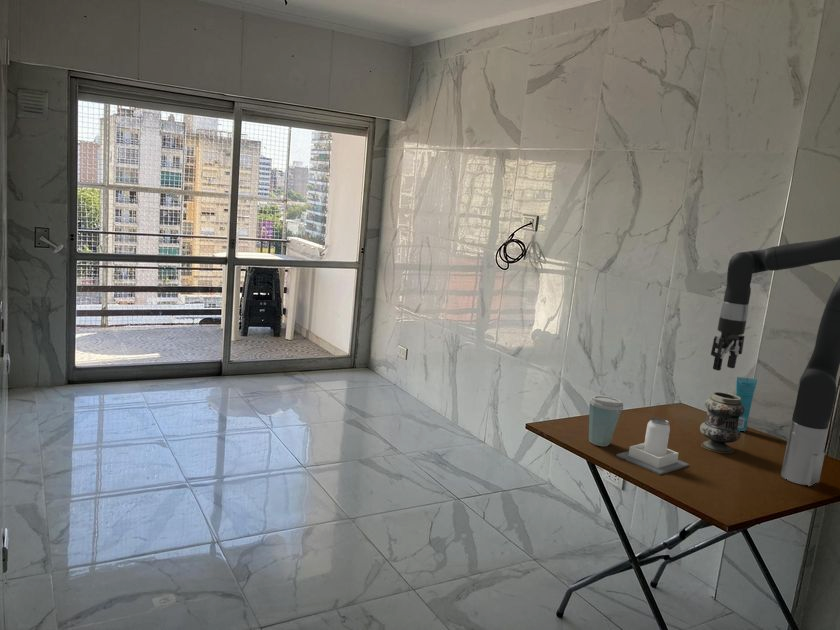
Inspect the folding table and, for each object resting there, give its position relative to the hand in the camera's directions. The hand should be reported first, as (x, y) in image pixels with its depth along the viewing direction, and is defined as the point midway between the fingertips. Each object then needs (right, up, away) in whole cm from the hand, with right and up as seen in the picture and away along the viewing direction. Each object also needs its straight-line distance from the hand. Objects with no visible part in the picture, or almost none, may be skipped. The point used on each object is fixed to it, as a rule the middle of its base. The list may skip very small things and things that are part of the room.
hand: (723, 368), depth 210 cm
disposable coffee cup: (-37, -24, +6) cm, 44 cm away
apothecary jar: (+3, -27, +12) cm, 30 cm away
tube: (+20, -25, +34) cm, 47 cm away
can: (-24, -27, -5) cm, 36 cm away
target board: (-24, -27, -5) cm, 37 cm away
